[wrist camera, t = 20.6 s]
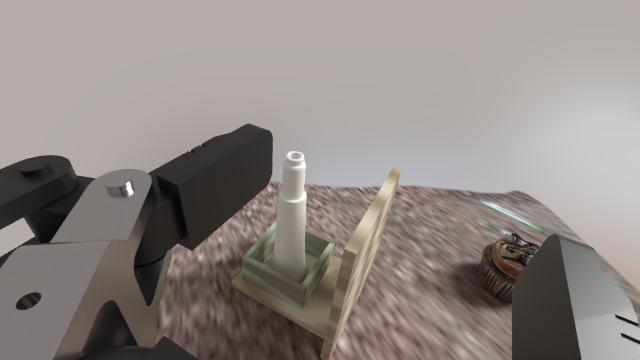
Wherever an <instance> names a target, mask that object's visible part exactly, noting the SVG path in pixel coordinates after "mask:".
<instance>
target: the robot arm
mask: <svg viewBox="0 0 640 360" xmlns="http://www.w3.org/2000/svg"><path fill="white" fill-rule="evenodd" d="M272 150H273V137H272V133H271V132H270V131H269V130H266V129H263V128H260V127H258V126H254V125H252V124H246V125H244V126H242V127H240V128H238V129H237V130H235V131H233V132H231V133H228V134H224V135H220V136H216V137H214V138H212V139H210V140H208V141H206V142H204V143H203V144H202V145H201V146H197V147H195V148H193V149H192V150H191V152H189V151H188V152H186V153H184V154H182V155H181V156H179V157H177V158H175V159H173V160H171V161H170V162H168V163H166V164H164V165H162V166H160V167H159V168H157V169H155V170H153V171H151V172H149V173H146V172H144V171H141V170H136V169H123V170H117V171H112V172H110V173H106V174H104V175H102V176H100V177H98V178H96V179H95V178H89V177H83V176H77V175H76V174H75V172H74V170H73V167H72V165H71V163H70V161H69V160H68V159H67V158H65V157H62V156H55V155H47V156H38V157H33V158H29V159H25V160H22V161H20V162H17V163H15V164H12V165H10V166H7V167H5V168H2V169H0V229H2V228H4V227H6V226H8V225H10V224H12V223H14V222H15V221H17V220H19V219H21V218H24V219H25V220H26V222H27V224H28V225H29V227H30V228H31V230H32V231H33V233H34V235H35V237H34V238H32V239H30V240H28V241H27V242H25V243H23V244H22V245H20V246H18V247H17V248H15V249H13V250H11V251H10V252H8V253H6V254H5V255H3V256H1V257H0V360H198V359H197V358H195V357H194V356H193V355H191V354H190V353H188V352H187V351H185V350H184V349H183V348H181V347H180V346H178V345H177V344H175V343H174V342H173V341H171V340H170V339H168V338H167V337H165V336H164V337H163V338H162V339H161V340H160V341H159V342H158V343H157V344H156V341H157V328H156V318H157V312H158V308H159V304H160V300H161V296H162V292H163V288H164V284H165V280H166V277H167V273H168V269H169V265H170V261H171V257H172V251H171V248H172V247H174V246H175V245H176V244H177V243H179V244H180V245H182V246H184V247H186V248H188V249H189V250H191V251H192V250H194V249H195V248H196V247H197V246H198V245H199V244H201V243H202V242H203V241H204V240H205V239H206V238H208V237H209V236H210V235H211V234H212V233H213V232H214V231H216V230H217V229H218V228H219V227H220V226H221V225H223V224H224V223H225V222H226V221H227V220H228V219H229V218H231V217H232V216H233V215H234V214H235V213H236V212H238V211H239V210H240V209H241V208H242V207H243V206H245V205H246V204H247V203H248V202H249V201H250V200H251V199H253V198H254V197H255V196H256V195H257V194H258V193H260V192H261V191H262V190H263V189H264V188H265V187H266V186H267V184H268V183H269V181H270V178H271V175H272V153H273V151H272ZM638 324H639V323H638V320H637V317H636V314H635V312H634V309H633V306H632V303H631V301H630V300H629V298H628V297H627V296H626V295H625V293H624V292H623V291H622V290H621V288H620V287H619V286H618V285H617V283H616V282H615V281H614V279H613V278H611V277H608V276H605V275H603V274H602V271H601V267H600V264H599V261H598V258H597V254H596V252H595V250H594V248H592V247H590V246H588V245H585V244H582V243H579V242H576V241H574V240H571V239H568V238H565V237H562V236H560V235H557V234H553V235H551V236H549V237H548V238H547V239H546V240H545V242H544V243H543V244H542V245H541V247H540V248H539V249H538V251H537V252H536V253H535V254H534V256H533V257H532V258H531V259H530V261H529V262H528V263H527V265H526V266H525V267H524V268H523V270H522V271H521V272H520V274H519V275H518V277H517V279H516V281H515V284H514V287H513V292H512V360H640V328H639V327H638Z"/></svg>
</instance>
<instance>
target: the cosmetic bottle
mask: <svg viewBox="0 0 640 360" xmlns="http://www.w3.org/2000/svg"><path fill="white" fill-rule="evenodd" d="M305 170H306V164H305V161H304V155H303V154H302V153H300V152H296V151H295V152H294V151H293V152H289V153H287V154H286V160H285V161H284V165H283V188H282V189H281V190H280V192H279V200H278V209H277V221H276V232H275V242H274V250H273V255H272V260H271V264H270V268H272V269H273V270H275V271H277V272H279V273H281V274H283V275H285V276H287V277H289V278H291V279H293V280H295V281H296V282H298V283H299V282H300V281H302V280H303V279H304V277H305V275H306V271H307V268H306V262H305V223H306V192H305V191H304V180H305Z"/></svg>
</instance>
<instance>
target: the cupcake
mask: <svg viewBox="0 0 640 360" xmlns="http://www.w3.org/2000/svg"><path fill="white" fill-rule="evenodd" d="M521 240H522V241H524V240H523V239H522V238H521V237H520V236H519V235H517V234H516V233H512V234H511V233H506V234H505V235H504V237H503V239H499V240H498V241H497V242H495V243H491V244H489V245H487V247H485V249H484V251H483V254H482V260H481V264H480V266H479V271H478V276H479V279H480V282H481V284H482V285H483V287H485V289H486V290H487V291H488V292H489V293H490V294H492V295H494V296H496V297H498V298H499V299H501V300H504V301H507V302H512V292H513V287H514V284H515V281H516V279H517V277H518V275H519V274H520V272H521V271H522V270H523V268H524V267H525V266H526V265H527V263H528V262H529V261H530V259H531V258H532V257H533V256H534V254H535V253H536V252H537V251H538V249H539V247H538V245H535V244H533V243H530V242H527V241H524V242H526V243H528V244H526V243H524V242H522V241H521Z"/></svg>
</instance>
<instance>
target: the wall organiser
mask: <svg viewBox="0 0 640 360" xmlns="http://www.w3.org/2000/svg"><path fill="white" fill-rule="evenodd" d="M401 173H402V171H401V170H398V169H395V168H393V169H392V171H391V172H390V174H389V176H388V177H387V179H386V181H385V182H384V184H383V186H382V187H381V189H380V191H379V192H378V194H377V196H376V197H375V199H374V201H373V202H372V204H371V205H370V207H369V209H368V210H367V212H366V214H365V215H364V217H363V219H362V220H361V222H360V224H359V225H358V227H357V229H356V230H355V232H354V234H353V235H352V237H351V239H350V240H349V242H348V244H347V245H346V247H345V248H344V253H343V257H342V259H340V258H338V257H335V256H334V251H335V246H336V241H335V240H332V239H330V238H328V237H326V236H324V235H321V234H319V233H317V232H315V231H313V230H310V229H308V228H306V227H305V262H306V268H307V271H306V275H305V277H304V279H303V280H302V281H300V282H299V283H298V282H296V281H295V280H293V279H291V278H289V277H287V276H285V275H283V274H281V273H279V272H277V271H275V270H273V269H272V268H270V264H271V260H272V255H273V250H274V242H275V232H276V222H275V223H274V224H273V225H272V226H271V227H270V228H269V229H268V230H267V231H266V232H265V233H264V234H263V235H262V236H261V237H260V238H259V240H258V241H257V242H256V243H255V244H254V245H253V246H252V247H251V248H250V249H249V250H248V251H247V252H246V253H245V254H244V255H243V256H242V257H241V266H242V270H241V271H240V272H239V273H238V274H237V275H236V276H235V277H234V279H233V280H232V281H231V284H232V287H233V288H235V289H237V290H238V291H240V292H242V293H244V294H245V295H247V296H249V297H251V298H252V299H254V300H256V301H258V302H259V303H261V304H263V305H265V306H266V307H268V308H270V309H272V310H273V311H275V312H277V313H279V314H280V315H282V316H284V317H285V318H287V319H289V320H291V321H292V322H294V323H296V324H298V325H299V326H301V327H303V328H305V329H306V330H308V331H310V332H312V333H313V334H315V335H317V336H319V337H320V338H322V339H324V342H323V346H322V350H321V355H320V359H322V360H329V359H330V357H331V355H332V353H333V351H334V349H335V346H336V344H337V342H338V340H339V338H340V336H341V334H342V332H343V329H344V327H345V325H346V323H347V321H348V319H349V317H350V314H351V312H352V310H353V308H354V306H355V304H356V302H357V300H358V297H359V295H360V293H361V291H362V289H363V287H364V285H365V283H366V280H367V278H368V276H369V273H370V270H371V267H372V264H373V261H374V258H375V254H376V251H377V248H378V245H379V242H380V239H381V236H382V233H383V229H384V226H385V223H386V220H387V217H388V214H389V211H390V208H391V204H392V201H393V198H394V195H395V192H396V189H397V186H398V182H399V179H400V176H401Z"/></svg>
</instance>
